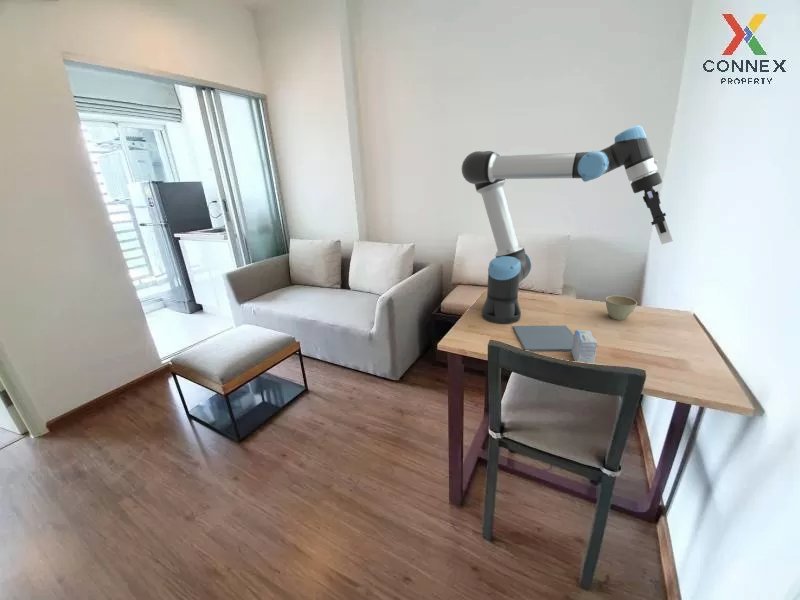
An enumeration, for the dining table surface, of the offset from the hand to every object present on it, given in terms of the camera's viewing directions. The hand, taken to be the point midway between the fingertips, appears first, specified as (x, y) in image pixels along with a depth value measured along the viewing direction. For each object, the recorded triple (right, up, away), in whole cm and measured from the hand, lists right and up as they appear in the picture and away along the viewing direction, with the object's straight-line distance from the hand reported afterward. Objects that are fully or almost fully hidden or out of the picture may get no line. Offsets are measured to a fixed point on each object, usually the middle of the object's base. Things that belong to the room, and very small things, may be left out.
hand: (666, 239), depth 105 cm
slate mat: (-34, -33, +10) cm, 48 cm away
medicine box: (-29, -38, -3) cm, 48 cm away
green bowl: (0, -26, +23) cm, 35 cm away
